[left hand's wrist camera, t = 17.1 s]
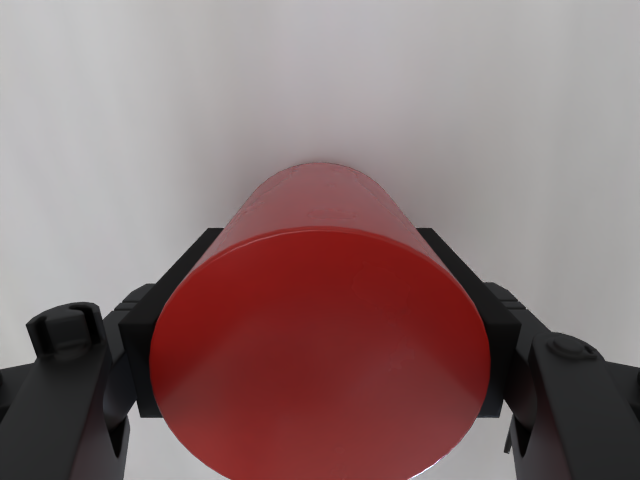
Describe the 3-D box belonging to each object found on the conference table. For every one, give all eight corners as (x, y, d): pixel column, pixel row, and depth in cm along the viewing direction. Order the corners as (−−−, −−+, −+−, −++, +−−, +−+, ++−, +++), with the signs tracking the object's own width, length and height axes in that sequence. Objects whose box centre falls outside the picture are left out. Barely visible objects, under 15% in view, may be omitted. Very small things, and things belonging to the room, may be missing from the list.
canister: (425, 181, 14) (551, 266, 6) (380, 330, 16) (431, 518, 9) (246, 145, 13) (151, 191, 6) (227, 305, 16) (144, 480, 8)
